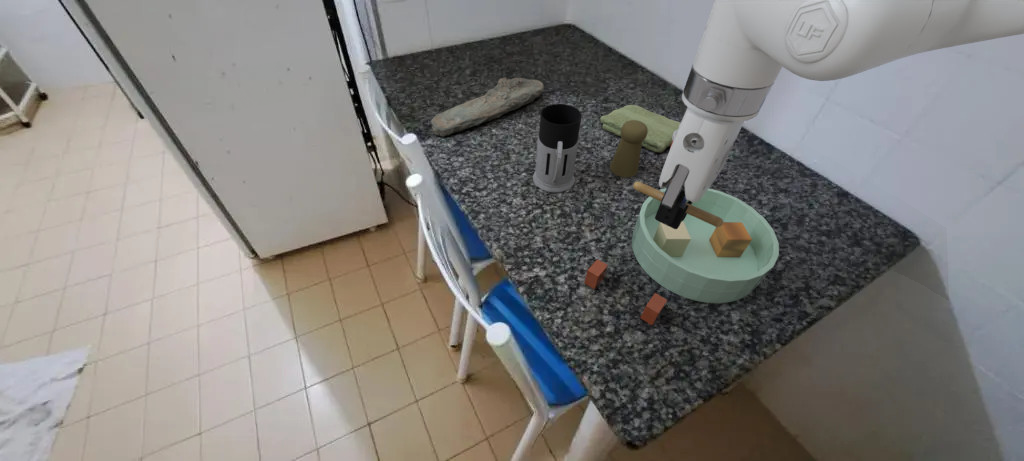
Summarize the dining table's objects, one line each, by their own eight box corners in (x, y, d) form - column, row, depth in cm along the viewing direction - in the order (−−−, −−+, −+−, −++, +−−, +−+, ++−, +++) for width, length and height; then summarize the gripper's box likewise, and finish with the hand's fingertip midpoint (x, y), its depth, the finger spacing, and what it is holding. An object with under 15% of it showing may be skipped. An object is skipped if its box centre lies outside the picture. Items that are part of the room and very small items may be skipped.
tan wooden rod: (722, 225, 49) (726, 218, 48) (719, 230, 48) (723, 223, 47) (634, 185, 54) (636, 178, 53) (630, 189, 53) (632, 182, 52)
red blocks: (660, 312, 60) (667, 299, 57) (652, 325, 58) (658, 313, 56) (593, 272, 65) (597, 258, 62) (584, 283, 63) (587, 270, 61)
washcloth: (626, 109, 102) (629, 97, 100) (687, 136, 94) (692, 124, 91) (595, 127, 96) (597, 115, 94) (658, 158, 87) (662, 146, 85)
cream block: (675, 239, 69) (683, 221, 66) (682, 256, 67) (691, 239, 63) (652, 239, 69) (660, 221, 66) (658, 256, 66) (666, 238, 63)
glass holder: (574, 167, 85) (584, 103, 74) (575, 212, 75) (587, 146, 64) (533, 164, 85) (538, 100, 74) (530, 209, 75) (534, 143, 65)
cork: (608, 174, 83) (618, 129, 75) (611, 158, 87) (622, 113, 79) (636, 179, 82) (651, 134, 74) (638, 163, 86) (652, 118, 78)
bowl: (776, 246, 70) (794, 222, 65) (736, 328, 58) (754, 306, 54) (663, 194, 79) (672, 170, 75) (609, 256, 67) (616, 232, 63)
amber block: (731, 240, 69) (742, 222, 66) (740, 257, 67) (752, 239, 63) (708, 239, 69) (718, 222, 66) (716, 257, 67) (727, 239, 63)
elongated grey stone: (423, 130, 96) (446, 150, 91) (419, 112, 92) (443, 131, 87) (527, 81, 111) (552, 96, 106) (528, 64, 107) (553, 78, 102)
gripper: (739, 135, 33) (672, 268, 47) (784, 74, 42) (716, 202, 55) (657, 106, 37) (616, 239, 50) (714, 55, 45) (666, 180, 58)
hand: (669, 219), depth 52 cm, fingers closed on tan wooden rod, 1 cm apart
